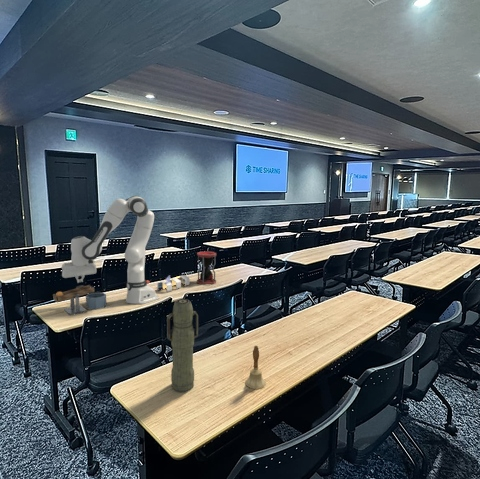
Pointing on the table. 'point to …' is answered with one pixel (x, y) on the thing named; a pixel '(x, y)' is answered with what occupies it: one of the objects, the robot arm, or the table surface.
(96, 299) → the blue-grey box
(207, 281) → the hourglass
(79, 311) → the lever stand
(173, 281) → the diorama
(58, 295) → the ball
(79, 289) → the lever
